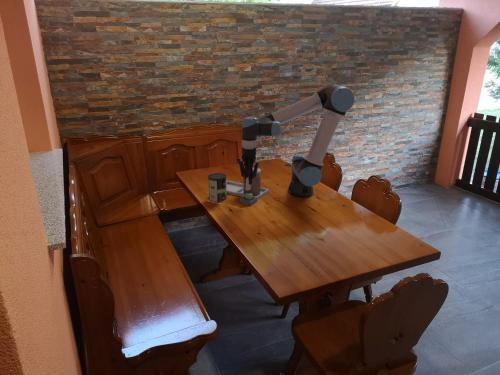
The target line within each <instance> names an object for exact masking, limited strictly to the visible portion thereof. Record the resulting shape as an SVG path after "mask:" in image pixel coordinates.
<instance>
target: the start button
mask: <svg viewBox="0 0 500 375" xmlns="http://www.w3.org/2000/svg"><path fill="white" fill-rule="evenodd" d="M252 199H253V194H252V193H246V194H245V200H249V201H251V200H252Z"/></svg>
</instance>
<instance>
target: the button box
mask: <svg viewBox="0 0 500 375" xmlns="http://www.w3.org/2000/svg"><path fill="white" fill-rule="evenodd" d="M258 200H259V199H258V198H257V197H253V199H252V200H251V201H249V200H245V197H241V198H239V202H240V204H244V205H247V206H253V205H254V204H255V203H257V202H258Z"/></svg>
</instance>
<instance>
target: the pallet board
mask: <svg viewBox="0 0 500 375" xmlns="http://www.w3.org/2000/svg"><path fill="white" fill-rule="evenodd" d="M226 189H227V195H232V196H233V195H234V196H237V197H241V198H243V197H245V194H243V182H242V183H241V182H237V181H232V180H226ZM268 193H270V188H265V187H261V189H260V194H259V195H258V196H253V197H257V198H258V200H259V199H261V198H262V197H264V196H265V195H267V194H268Z"/></svg>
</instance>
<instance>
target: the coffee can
mask: <svg viewBox="0 0 500 375" xmlns="http://www.w3.org/2000/svg"><path fill="white" fill-rule="evenodd" d="M226 181H227V175H226V174H224V173H221V172H217V173H215V172H214V173H210V174H208V175H207V184H208V185H207V186H208V202H211V203H213V204H221V203H222V201H226V200H227V199H228V198H227V197H228V196H227V195H228V193H227V189H226Z"/></svg>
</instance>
